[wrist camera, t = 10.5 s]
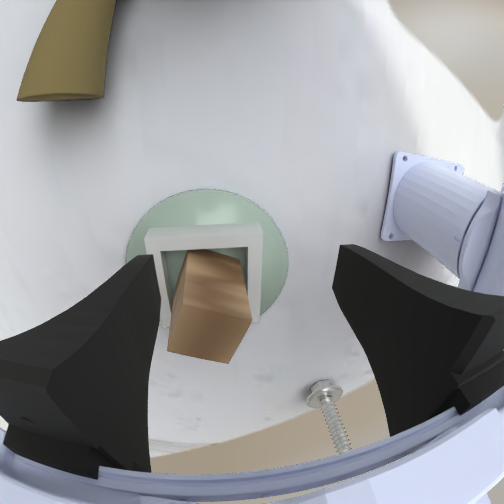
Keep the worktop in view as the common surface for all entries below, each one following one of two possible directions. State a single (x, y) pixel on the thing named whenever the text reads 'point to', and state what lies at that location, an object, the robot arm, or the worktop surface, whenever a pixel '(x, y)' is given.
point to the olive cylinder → (70, 53)
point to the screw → (330, 411)
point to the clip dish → (213, 243)
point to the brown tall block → (209, 307)
